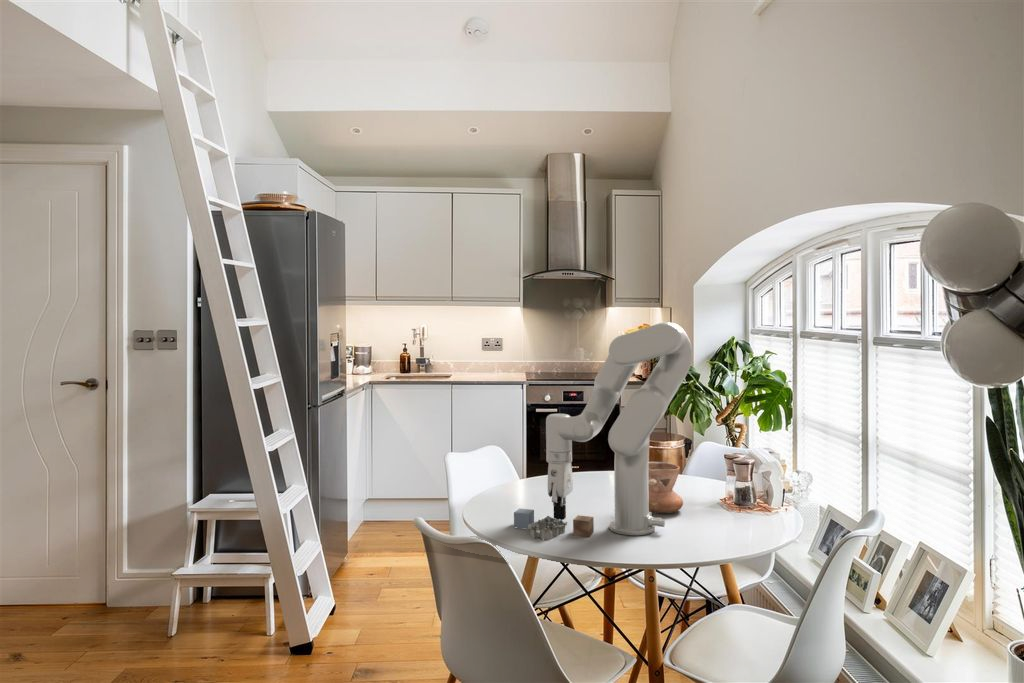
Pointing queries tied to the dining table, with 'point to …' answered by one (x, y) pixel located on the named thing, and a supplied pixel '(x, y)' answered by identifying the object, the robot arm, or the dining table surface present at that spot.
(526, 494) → the dining table surface
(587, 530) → the walnut block
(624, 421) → the robot arm
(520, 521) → the slate-blue block
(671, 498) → the ceramic jug
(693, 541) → the dining table surface
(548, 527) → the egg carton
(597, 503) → the dining table surface
